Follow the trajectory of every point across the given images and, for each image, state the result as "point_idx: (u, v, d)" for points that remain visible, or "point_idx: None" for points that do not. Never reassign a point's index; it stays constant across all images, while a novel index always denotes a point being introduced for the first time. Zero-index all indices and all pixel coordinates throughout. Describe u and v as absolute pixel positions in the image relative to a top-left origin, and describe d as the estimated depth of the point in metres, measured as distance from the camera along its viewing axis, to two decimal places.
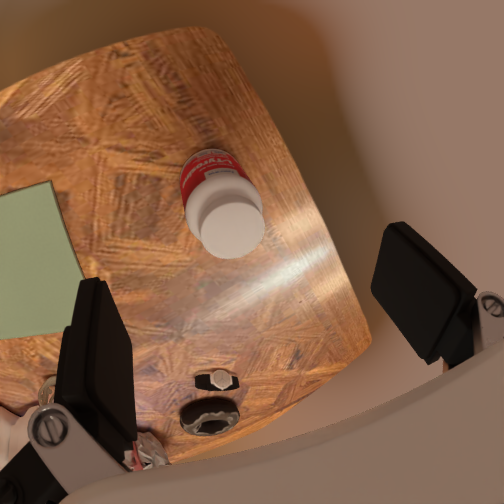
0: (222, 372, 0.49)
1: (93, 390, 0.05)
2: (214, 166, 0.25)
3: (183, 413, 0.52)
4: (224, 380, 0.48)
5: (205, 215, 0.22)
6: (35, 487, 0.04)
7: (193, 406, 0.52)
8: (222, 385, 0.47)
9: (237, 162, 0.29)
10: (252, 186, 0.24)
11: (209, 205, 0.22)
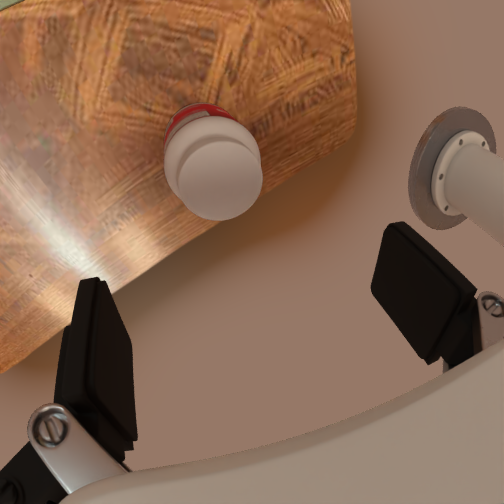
0: None
1: (93, 390, 0.05)
2: None
3: None
4: None
5: (244, 146, 0.16)
6: (35, 487, 0.04)
7: None
8: None
9: None
10: None
11: (250, 150, 0.17)
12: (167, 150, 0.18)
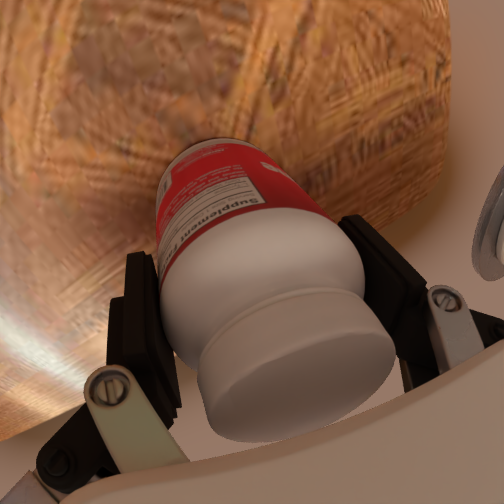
0: None
1: (154, 349, 0.06)
2: None
3: None
4: None
5: (374, 321, 0.06)
6: (89, 453, 0.05)
7: None
8: None
9: None
10: None
11: None
12: (166, 295, 0.08)
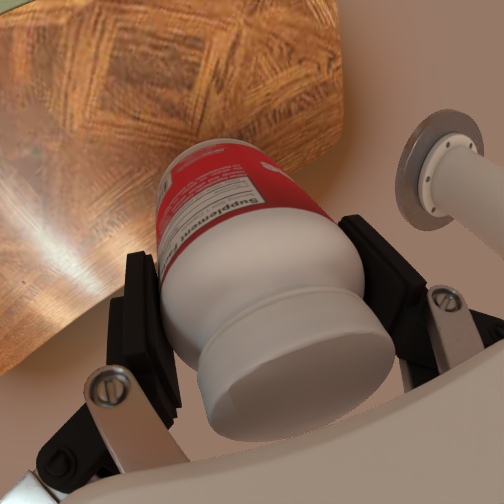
0: None
1: (154, 349, 0.06)
2: None
3: None
4: None
5: (374, 321, 0.06)
6: (89, 453, 0.05)
7: None
8: None
9: None
10: None
11: (372, 312, 0.07)
12: (166, 294, 0.08)
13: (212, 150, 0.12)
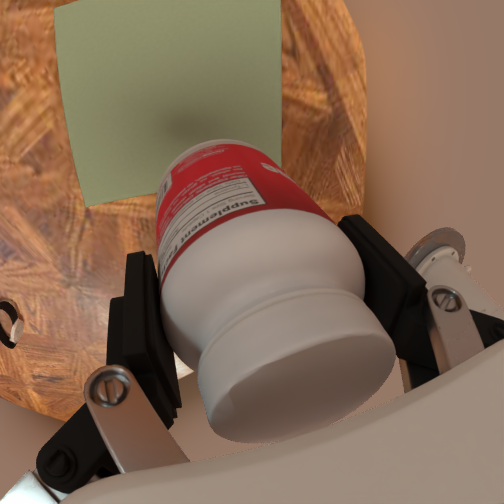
0: (22, 327, 0.33)
1: (154, 349, 0.06)
2: None
3: None
4: (17, 335, 0.32)
5: (374, 322, 0.06)
6: (89, 453, 0.05)
7: None
8: (14, 337, 0.31)
9: None
10: None
11: None
12: (166, 296, 0.08)
13: (212, 151, 0.12)
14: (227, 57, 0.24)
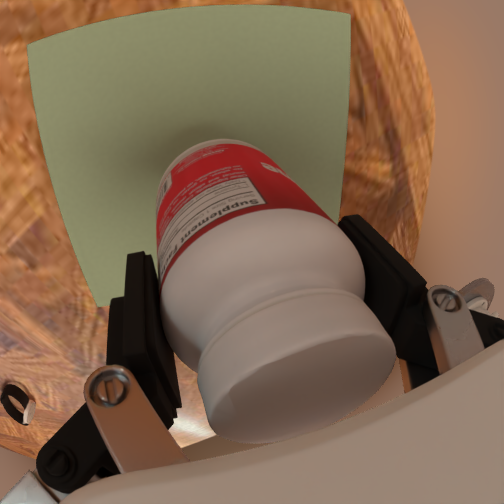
0: (34, 407, 0.28)
1: (154, 349, 0.06)
2: None
3: None
4: (30, 416, 0.27)
5: (374, 322, 0.06)
6: (88, 453, 0.05)
7: None
8: (27, 420, 0.26)
9: None
10: None
11: (373, 313, 0.07)
12: (166, 296, 0.08)
13: (212, 151, 0.12)
14: (280, 122, 0.19)
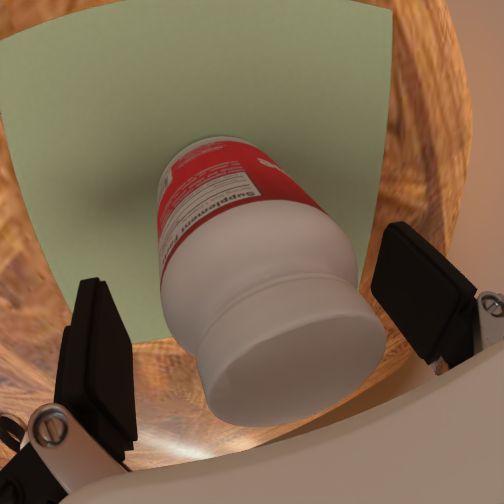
0: None
1: (93, 390, 0.05)
2: None
3: None
4: None
5: (364, 306, 0.07)
6: (35, 487, 0.04)
7: None
8: None
9: None
10: None
11: None
12: (167, 283, 0.08)
13: (211, 147, 0.12)
14: (309, 140, 0.15)
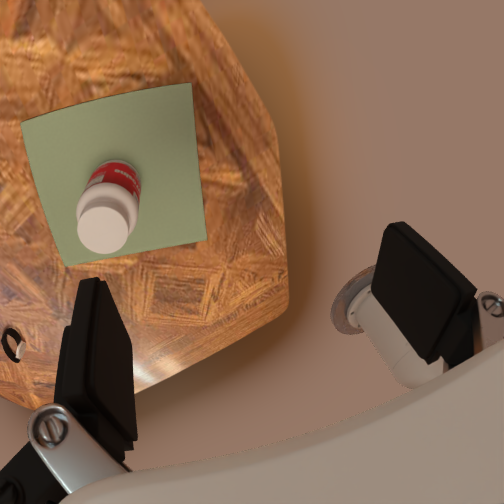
0: (24, 347, 0.43)
1: (93, 390, 0.05)
2: (138, 196, 0.30)
3: None
4: (21, 353, 0.41)
5: (113, 207, 0.25)
6: (35, 487, 0.04)
7: None
8: (19, 355, 0.40)
9: None
10: (131, 232, 0.29)
11: (120, 208, 0.25)
12: None
13: (104, 166, 0.30)
14: (153, 156, 0.33)
